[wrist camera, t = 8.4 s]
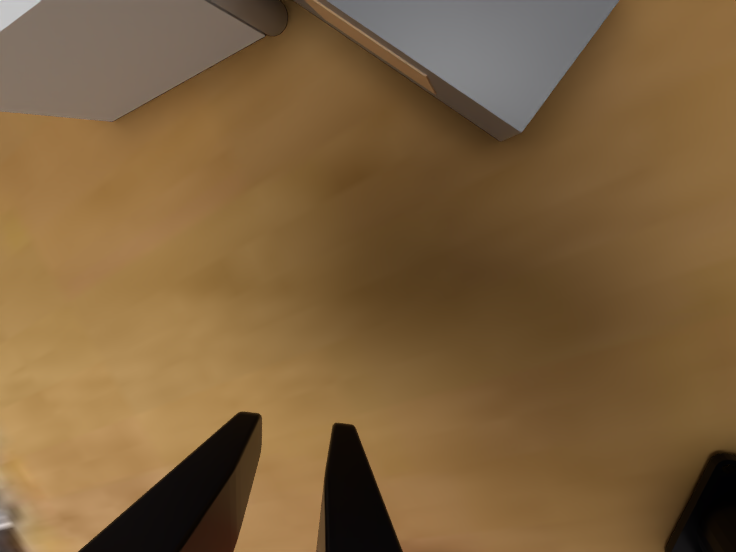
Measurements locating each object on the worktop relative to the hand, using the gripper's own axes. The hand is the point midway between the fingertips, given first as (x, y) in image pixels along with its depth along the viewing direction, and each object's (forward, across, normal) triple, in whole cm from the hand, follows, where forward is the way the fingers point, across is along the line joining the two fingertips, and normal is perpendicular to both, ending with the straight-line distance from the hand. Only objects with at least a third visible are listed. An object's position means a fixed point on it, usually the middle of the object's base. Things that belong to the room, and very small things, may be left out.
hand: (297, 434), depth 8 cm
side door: (+15, +8, -6) cm, 18 cm away
